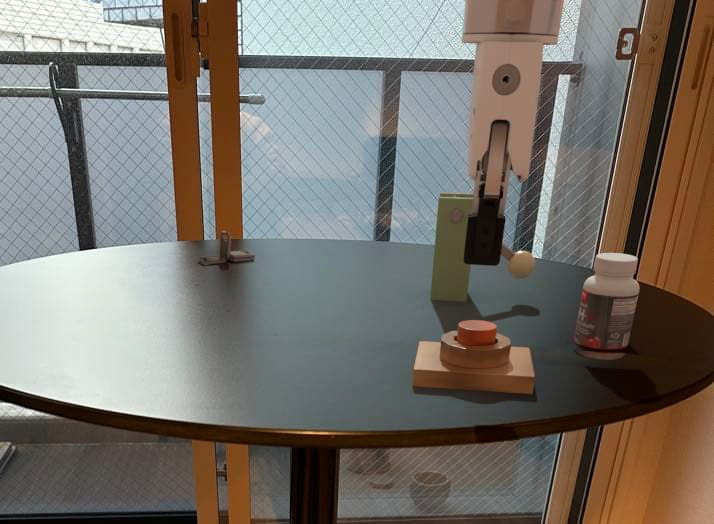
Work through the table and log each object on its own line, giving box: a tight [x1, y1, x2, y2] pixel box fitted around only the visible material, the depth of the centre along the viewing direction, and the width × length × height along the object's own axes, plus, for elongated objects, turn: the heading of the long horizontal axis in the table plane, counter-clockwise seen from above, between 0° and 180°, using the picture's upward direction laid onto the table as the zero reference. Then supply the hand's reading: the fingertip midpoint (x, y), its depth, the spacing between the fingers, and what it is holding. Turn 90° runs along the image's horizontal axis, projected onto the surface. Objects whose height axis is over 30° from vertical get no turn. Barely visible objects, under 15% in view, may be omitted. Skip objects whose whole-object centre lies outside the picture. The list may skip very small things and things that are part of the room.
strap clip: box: [197, 230, 256, 265], centre depth 121 cm, size 8×3×4 cm, turn 118°
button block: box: [411, 329, 536, 395], centre depth 77 cm, size 11×9×4 cm
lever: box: [453, 195, 536, 280], centre depth 96 cm, size 13×3×3 cm
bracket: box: [429, 191, 474, 303], centre depth 97 cm, size 12×9×13 cm
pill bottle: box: [573, 252, 641, 361], centre depth 82 cm, size 5×5×10 cm
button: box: [456, 319, 498, 346], centre depth 76 cm, size 4×4×2 cm
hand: (480, 262), depth 73 cm, fingers closed
